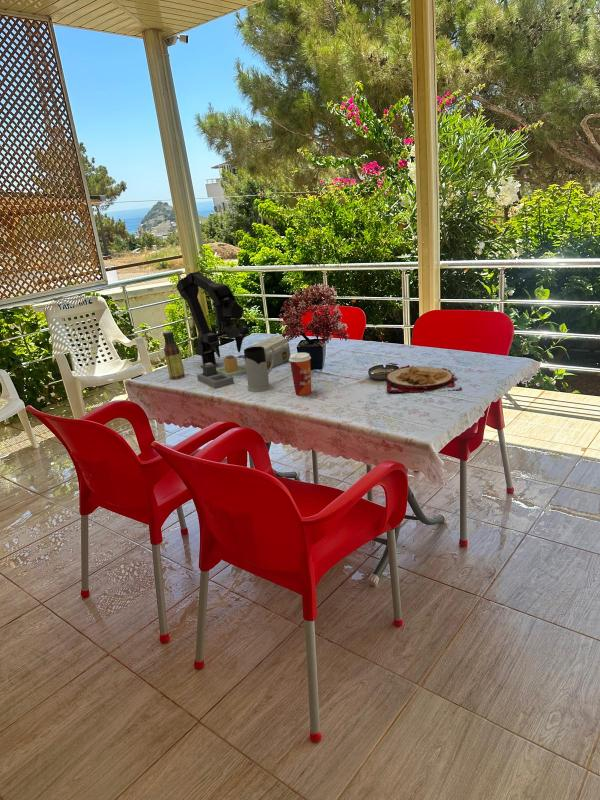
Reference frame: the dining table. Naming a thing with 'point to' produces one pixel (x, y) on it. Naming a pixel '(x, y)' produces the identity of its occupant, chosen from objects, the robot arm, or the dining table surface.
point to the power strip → (216, 380)
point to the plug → (230, 364)
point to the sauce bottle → (173, 357)
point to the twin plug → (209, 369)
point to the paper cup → (301, 373)
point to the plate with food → (419, 379)
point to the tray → (240, 370)
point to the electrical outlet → (279, 349)
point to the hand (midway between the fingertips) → (229, 354)
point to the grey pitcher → (257, 368)
